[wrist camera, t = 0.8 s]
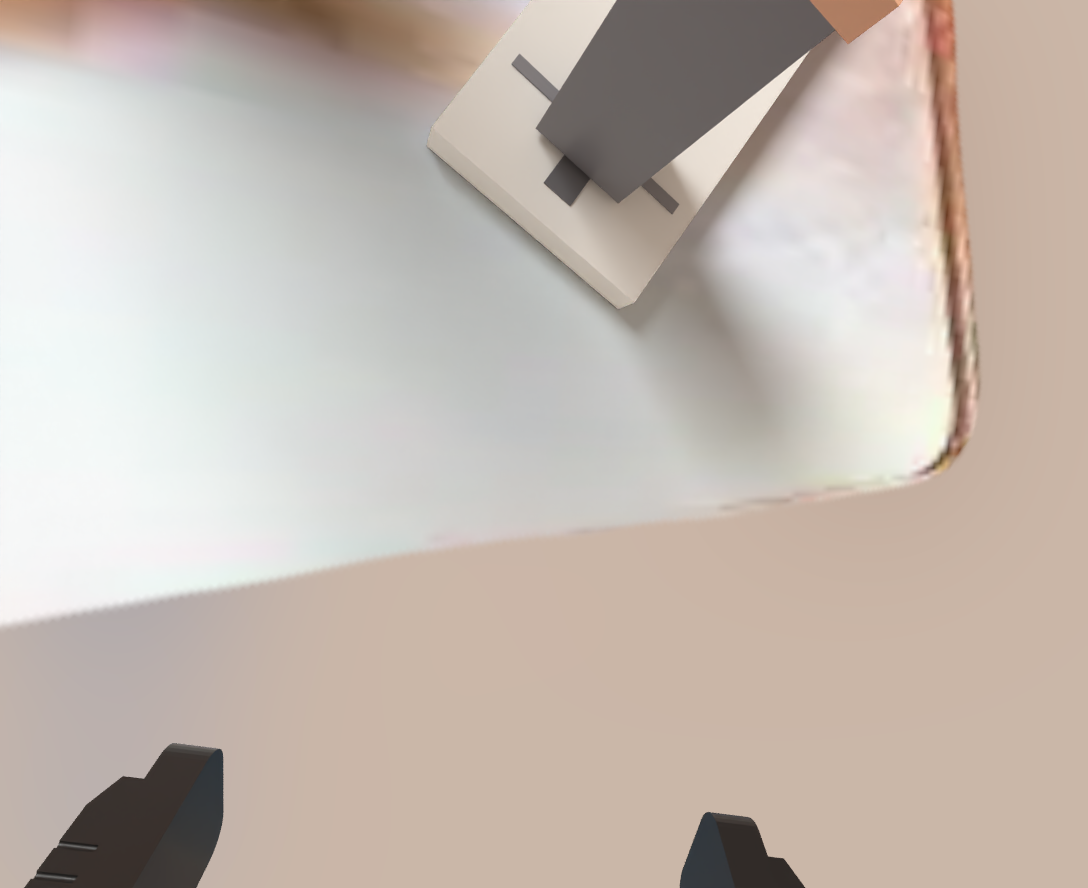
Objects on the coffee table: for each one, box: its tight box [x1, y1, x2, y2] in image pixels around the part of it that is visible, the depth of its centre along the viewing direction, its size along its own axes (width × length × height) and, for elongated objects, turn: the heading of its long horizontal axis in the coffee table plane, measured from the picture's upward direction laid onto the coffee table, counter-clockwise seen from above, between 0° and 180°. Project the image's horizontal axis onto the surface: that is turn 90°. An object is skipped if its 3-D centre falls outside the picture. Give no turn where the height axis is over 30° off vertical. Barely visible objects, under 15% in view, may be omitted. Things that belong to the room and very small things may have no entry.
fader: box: [536, 0, 903, 203], centre depth 22 cm, size 6×4×16 cm, turn 54°
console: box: [426, 0, 809, 309], centre depth 32 cm, size 12×26×2 cm, turn 144°
